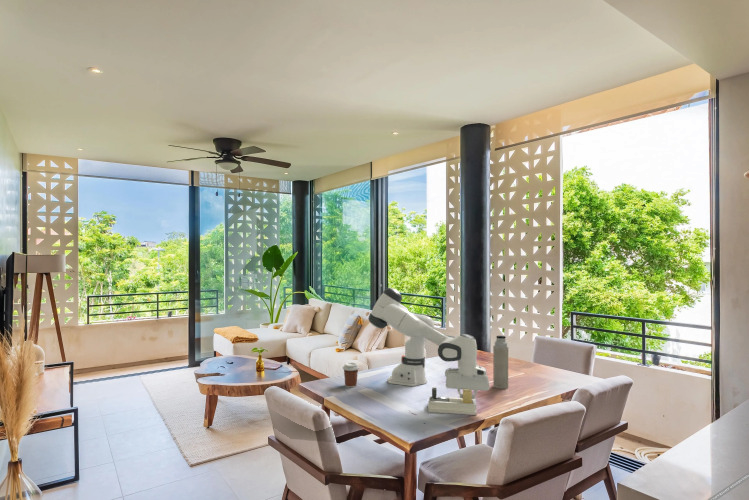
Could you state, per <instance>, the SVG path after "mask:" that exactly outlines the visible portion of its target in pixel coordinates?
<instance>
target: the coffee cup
mask: <svg viewBox="0 0 749 500" xmlns="http://www.w3.org/2000/svg"><path fill="white" fill-rule="evenodd" d="M359 369H360V367H359V366H358V364H357V363H355V362H346V363H345V364H344V366H342V370H343V373H344V374H343V375H344V386H345V387H346V386H347V387H346V388H350V387H351V388H356V387H357V385H358V371H359Z"/></svg>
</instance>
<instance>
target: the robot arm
mask: <svg viewBox="0 0 749 500" xmlns="http://www.w3.org/2000/svg"><path fill="white" fill-rule="evenodd" d="M402 300H403V296H402V294H401V292H400V291H398V290H397V289H395V288H393V287H387V288H384V290H383V292H382V294H381V295H380V296H379V298H378V299H377V300H376V302H375V304H374V306H373V307H372V310H371V312H370V313H369V315H368V322H369V323H370V324H371V326H373V327H374V328H376V329H380V330H381V329H384V328H386V327H388V326H390V327H392V329H395V330H396V331H397V332H399V333H401V334H402V335H403V336H407V337H409V339H408V340H407V341H406V342H405V343H404V354H403V355H401V358H400V359H401V362H400V363H399V364H398V365H397V366H395V367H394V368H393V370H392V372H391V375H390V376H388V378H387V383H388V384H393V385H400V386H410V387H415V386H419V385H424V384H426V383H427V382H428V380H427V377H426V370H425V368H426V356H425V344H426V340H428V341H430V342H432V343H433V344H435V345H436V346H438V347H437V354H438V357H439V358H440V359H441V360H442V361H444V362H448V363H450V362H457V368H452V367H449V368H447V369H445V371H444V376H445V387H446V389H451V390H453V389H455V390H457V393H458V394H459V398H463V393H462V392H461V390H463V389H468V390H473V394H472V399H476V397H475V396H476V395H477V393H478V391H485V392H486V391H489V390H490V381H489V377H488V374H487V373H488V372H487V368H486V367H484V366H480V365H479V364H478V362H477V357H478V356H477V355H478V345H477V340H476V338H475V337H474V336H473V335H471V334H467V333H461V334H459V335H457V336H453V335H448V334H445V333H443V332H441V331H439V330H437V329H435V323H434V320H433V318H432V317H430V316H429V315H425V314H419V313H418V314H417V313H413V312H410V311H409V309H408V308H407V306H405V305H403V304H402V303H401V302H402Z"/></svg>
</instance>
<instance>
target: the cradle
mask: <svg viewBox="0 0 749 500" xmlns="http://www.w3.org/2000/svg"><path fill="white" fill-rule="evenodd" d="M430 397H432V395H431V396H429V398H428V399H429V400H428V402H427V404H428V407H427V412H429V413H442V414H443V413H444V414H458V415H469V416H477V413H478V412H477V399H476V398H475V399H472V403H463V398H460V397H446V396H444V397H445V398H449V402H442V401H430Z"/></svg>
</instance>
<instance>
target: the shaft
mask: <svg viewBox="0 0 749 500" xmlns="http://www.w3.org/2000/svg"><path fill="white" fill-rule="evenodd" d="M437 389H438V388H437V387H432V388H431V396H432V397H430V396H429V397H430V401H442V402H449V398H450V397H449V398H445V397H446V396H437V392H438V391H437Z"/></svg>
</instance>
